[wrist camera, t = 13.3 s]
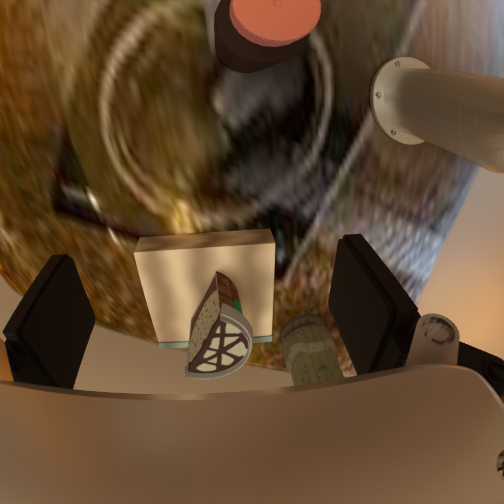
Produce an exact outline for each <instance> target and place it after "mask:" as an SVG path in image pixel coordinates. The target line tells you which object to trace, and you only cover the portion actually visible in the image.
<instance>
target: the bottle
mask: <svg viewBox="0 0 504 504" xmlns="http://www.w3.org/2000/svg"><path fill="white" fill-rule="evenodd" d="M320 2H321V1H319V0H221V1H220V3H219V5H218V7H217V10H216V12H215V18H214V33H215V49H216V53H217V56H218V58H219V59H220V61H221V62H222V63H223V65H225V66H226V67H228V68H229V69H231V70H233V71H237V72H240V73H250V72H254V71H258V70H261V69H263V68H266V67H269V66H272V65H274V64H277V63H280V62H283V61H285V60H287V59H289V58H290V57H292V56H294V55H296V54H297V53H298V52H299V51H300V50H301V49H302V48H303V46H304V45H305V44H306V42H307V40H308V37H309V35H310V33H311V31H312V29H314V27H315V26H317V25H316V24H317V23H318V22H317V21H319V19H318V18H320V15H321V13H320V12H321V10H320V9H321V8H322V7H320V5H321V4H320Z"/></svg>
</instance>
